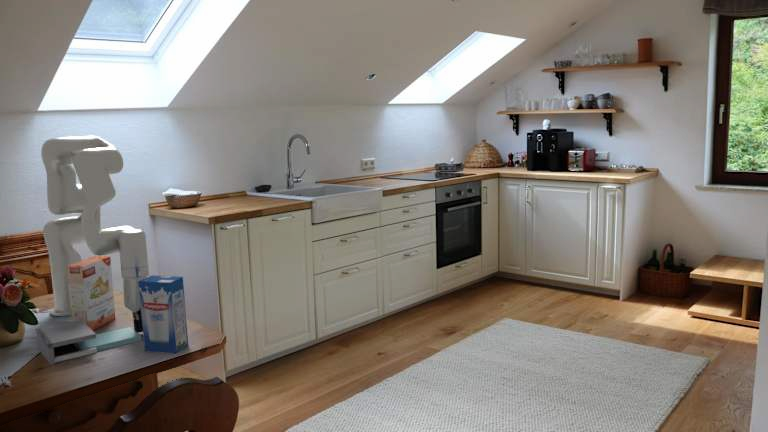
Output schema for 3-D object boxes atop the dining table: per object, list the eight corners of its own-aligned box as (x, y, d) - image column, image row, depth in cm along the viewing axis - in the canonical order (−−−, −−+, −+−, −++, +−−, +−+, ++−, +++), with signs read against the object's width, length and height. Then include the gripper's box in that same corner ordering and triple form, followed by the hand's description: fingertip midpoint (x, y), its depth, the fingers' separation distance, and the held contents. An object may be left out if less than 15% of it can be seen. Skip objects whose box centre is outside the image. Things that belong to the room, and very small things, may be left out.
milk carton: (188, 345, 185) (183, 276, 182) (176, 353, 179) (170, 282, 176) (157, 343, 188) (151, 275, 184) (144, 351, 182) (138, 281, 179)
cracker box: (89, 333, 198) (82, 266, 194) (72, 332, 199) (64, 265, 195) (117, 318, 211) (111, 255, 208) (100, 318, 212) (94, 255, 209)
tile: (74, 346, 189) (73, 339, 189) (130, 333, 199) (130, 326, 198) (83, 355, 181) (82, 349, 181) (141, 342, 191) (141, 335, 191)
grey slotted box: (38, 348, 186) (35, 329, 185) (83, 338, 193) (81, 319, 193) (50, 364, 174) (47, 344, 173) (97, 353, 181) (95, 333, 180)
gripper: (114, 269, 196) (120, 328, 199) (130, 278, 185) (136, 340, 188) (139, 265, 201) (145, 322, 204) (156, 273, 189) (162, 334, 192)
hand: (140, 331), depth 196 cm, fingers closed
